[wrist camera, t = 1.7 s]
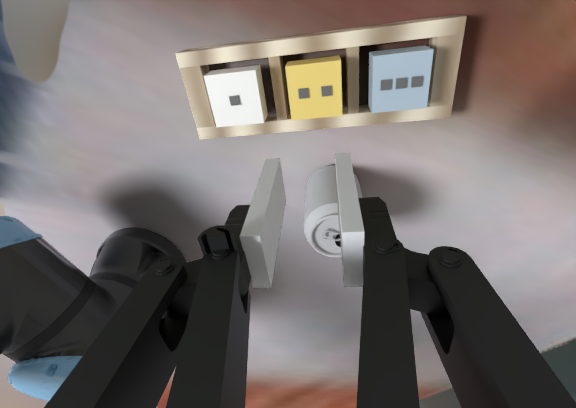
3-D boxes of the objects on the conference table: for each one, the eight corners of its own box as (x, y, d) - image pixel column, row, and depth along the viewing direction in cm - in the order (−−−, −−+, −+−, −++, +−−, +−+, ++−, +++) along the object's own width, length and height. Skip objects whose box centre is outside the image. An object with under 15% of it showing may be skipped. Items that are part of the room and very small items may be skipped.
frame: (207, 131, 42) (200, 139, 40) (185, 49, 37) (175, 53, 34) (441, 109, 38) (450, 117, 36) (455, 14, 33) (466, 15, 30)
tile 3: (368, 105, 36) (372, 113, 33) (369, 51, 33) (373, 56, 30) (419, 100, 35) (427, 108, 33) (424, 45, 32) (434, 49, 30)
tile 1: (223, 118, 38) (215, 127, 36) (211, 70, 35) (202, 76, 33) (267, 114, 38) (263, 123, 35) (260, 64, 35) (255, 70, 32)
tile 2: (293, 112, 37) (291, 121, 35) (287, 61, 34) (284, 66, 32) (341, 107, 36) (342, 116, 34) (339, 55, 33) (341, 60, 31)
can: (345, 213, 48) (352, 270, 38) (299, 197, 47) (294, 252, 37) (368, 172, 44) (382, 224, 34) (318, 154, 43) (317, 202, 33)
